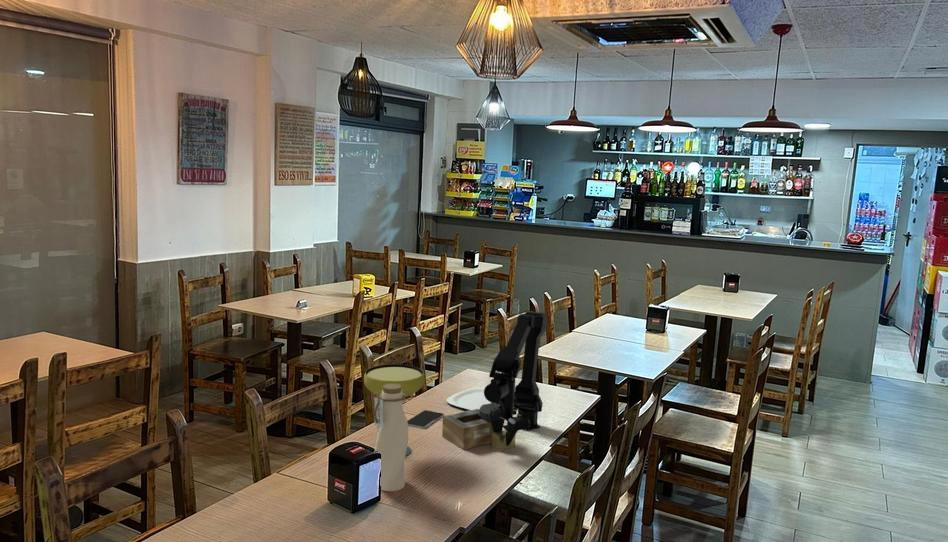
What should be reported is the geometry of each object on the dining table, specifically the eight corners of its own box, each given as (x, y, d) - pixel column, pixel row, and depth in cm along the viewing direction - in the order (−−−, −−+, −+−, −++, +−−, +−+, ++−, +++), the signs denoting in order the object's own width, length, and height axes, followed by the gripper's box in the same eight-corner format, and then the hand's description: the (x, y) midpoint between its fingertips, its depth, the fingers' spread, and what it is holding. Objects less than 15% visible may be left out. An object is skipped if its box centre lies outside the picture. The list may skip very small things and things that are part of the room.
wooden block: (509, 443, 216) (509, 428, 215) (515, 447, 213) (515, 431, 212) (491, 448, 212) (492, 433, 211) (497, 451, 209) (498, 436, 208)
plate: (438, 405, 251) (438, 400, 250) (476, 388, 271) (477, 384, 271) (495, 420, 236) (495, 416, 236) (531, 402, 257) (531, 397, 257)
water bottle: (390, 498, 177) (391, 395, 173) (364, 488, 182) (365, 388, 178) (414, 483, 186) (415, 385, 182) (388, 475, 190) (389, 379, 186)
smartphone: (444, 413, 239) (424, 426, 225) (444, 416, 239) (424, 430, 225) (424, 409, 242) (403, 422, 228) (424, 413, 242) (403, 426, 229)
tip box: (477, 428, 227) (477, 408, 226) (499, 440, 217) (499, 419, 216) (442, 436, 219) (442, 416, 218) (463, 449, 209) (463, 428, 208)
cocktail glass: (416, 437, 218) (418, 362, 214) (428, 460, 201) (430, 379, 197) (360, 442, 213) (360, 365, 209) (367, 466, 196) (368, 383, 192)
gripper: (466, 389, 212) (464, 437, 214) (503, 406, 197) (500, 457, 199) (495, 385, 219) (492, 432, 221) (532, 401, 204) (529, 451, 206)
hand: (502, 442), depth 211 cm, fingers open, 5 cm apart
